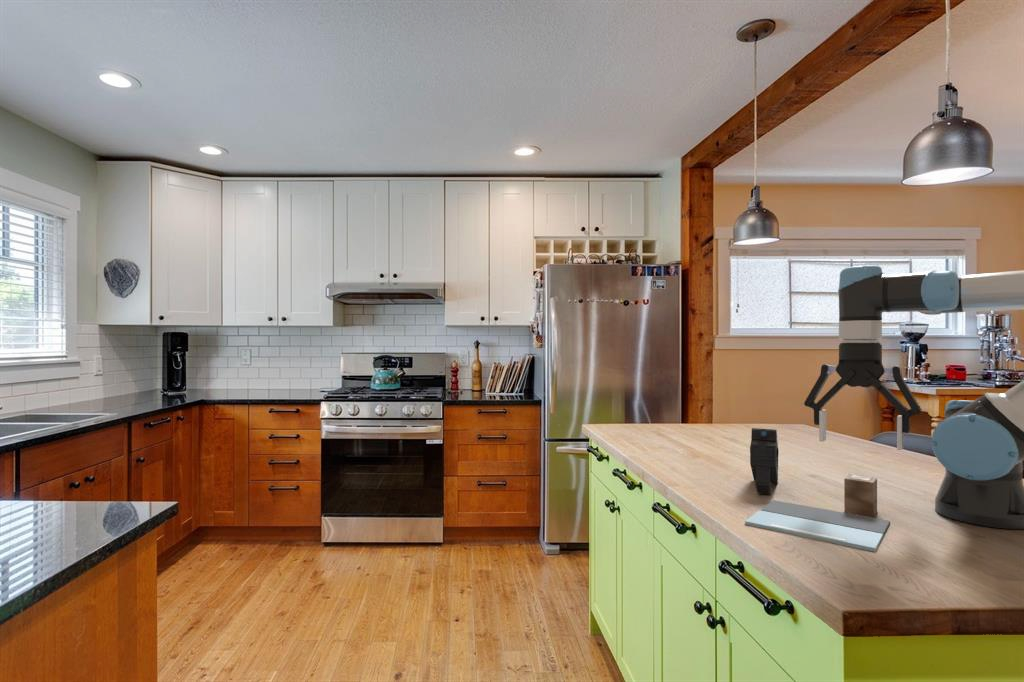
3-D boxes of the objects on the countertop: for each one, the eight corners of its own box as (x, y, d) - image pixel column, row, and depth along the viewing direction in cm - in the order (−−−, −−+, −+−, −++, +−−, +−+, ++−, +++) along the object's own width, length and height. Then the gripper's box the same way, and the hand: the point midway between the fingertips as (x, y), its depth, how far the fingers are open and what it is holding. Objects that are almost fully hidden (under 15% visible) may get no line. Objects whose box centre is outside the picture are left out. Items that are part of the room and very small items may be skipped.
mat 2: (883, 537, 97) (883, 533, 97) (875, 551, 91) (875, 547, 91) (759, 513, 111) (759, 509, 111) (745, 524, 104) (745, 520, 104)
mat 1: (890, 523, 105) (890, 520, 105) (883, 536, 98) (883, 533, 98) (773, 502, 118) (773, 500, 118) (760, 512, 112) (760, 509, 112)
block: (877, 511, 112) (877, 477, 112) (873, 517, 108) (873, 482, 108) (849, 507, 115) (848, 473, 116) (844, 512, 112) (844, 478, 112)
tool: (747, 484, 123) (749, 422, 129) (752, 506, 137) (754, 450, 144) (777, 487, 120) (777, 424, 127) (779, 510, 135) (780, 452, 141)
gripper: (937, 341, 107) (937, 449, 107) (798, 341, 123) (798, 435, 123) (935, 342, 101) (935, 455, 101) (789, 341, 117) (789, 439, 117)
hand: (859, 444), depth 112 cm, fingers open, 13 cm apart
